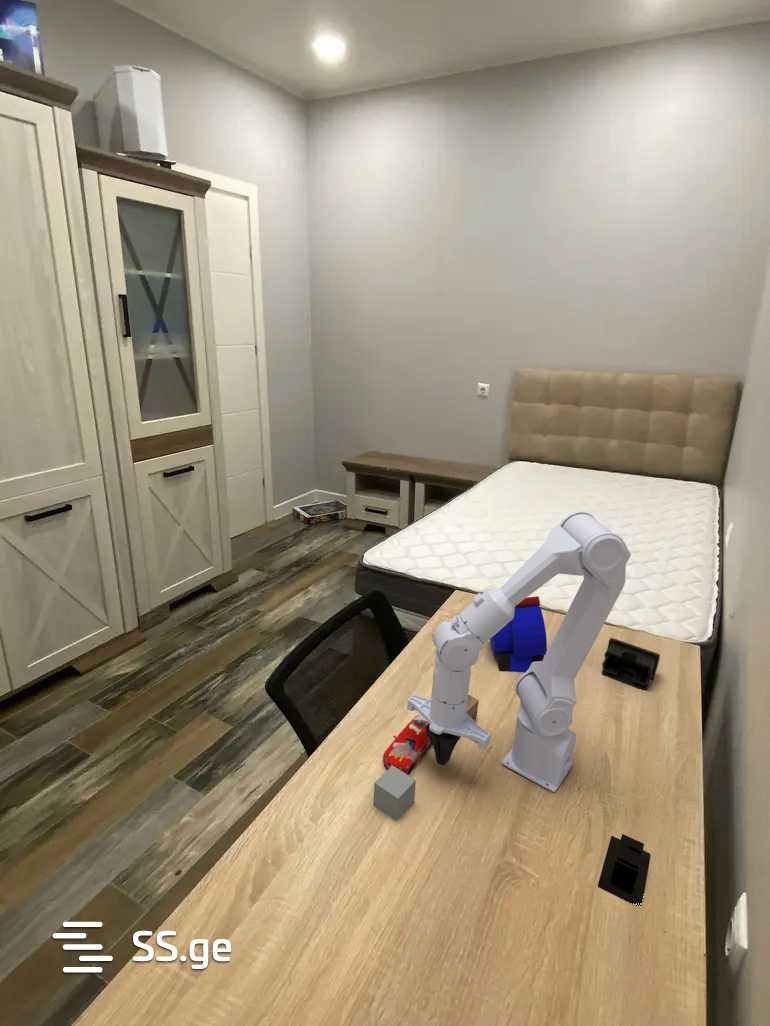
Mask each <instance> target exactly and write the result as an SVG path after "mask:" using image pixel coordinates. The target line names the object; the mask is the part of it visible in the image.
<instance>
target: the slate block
mask: <svg viewBox="0 0 770 1026" xmlns="http://www.w3.org/2000/svg"><path fill="white" fill-rule="evenodd" d="M416 783H417V779H415V778H414V777H412V776H410V775H409V774H406V773H404V772H402V771H401V770H399V769H398V768H396V767H394V766H393V765H392V766H391V767H390V768H389V769H386V771H385V772H384V773H383V774H381V775H380V777H379V778H378V779H376V780H375V782H373V804H372V805H373V806H374V807H376V808H377V809H379V810H380V811H381V812H383V813H384V814H386V815H387V816H389V817H390V818H391V819H393V820H394V821H396V822H398V821H399V819H400V818H401V817H402V816H403V815H404V814H405V813H406V811H408V809H410V807H411V806H413V804H414V803H415V799H416V798H415V796H416V795H415V793H416V785H417V784H416Z"/></svg>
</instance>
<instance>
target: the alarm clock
mask: <svg viewBox="0 0 770 1026" xmlns="http://www.w3.org/2000/svg"><path fill="white" fill-rule="evenodd" d="M540 602H541V600H540V596H537V595H536V596H528V597H527V598H525V599H524V600H523V601H521V602H520V603H519V604H517V605H516V606H515V612H514V618H513V619H512V620H511V621H510V622H509V623H508V624H507V625H505V626H504V627H503V628H502V629H501V630H500V631H498V632H497V633H496V634H495V635H494V636H493V637H492V638H490V639H489V642H490V646H491V652H492V654H493V655H496V658H497V664H498V665H497V667H498V671H499V672H503V673H504V672H505V673H506V672H507V673H511V672H512V673H525V672H526V671H527V670H528V669H529V667H530V666H531V664H532V662H538V661H543V659H544V657H545V655H546V653H547V651H548V646H547V645H548V642H547V640H548V639H547V632H546V624H545V619H544V615H543V611H542V609H541V606H540V605H541V603H540Z"/></svg>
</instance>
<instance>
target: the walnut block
mask: <svg viewBox="0 0 770 1026" xmlns="http://www.w3.org/2000/svg"><path fill="white" fill-rule="evenodd" d="M479 700H480V699H478V698H476V697H474V696H471V695H469V694H468V701H467V710H466V714H467V715H468V716H469V717H471V718H472V719H473V720H474V721H475V722H476V720H477V718H478V717H477V716H478V709H479V702H480V701H479Z"/></svg>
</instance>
